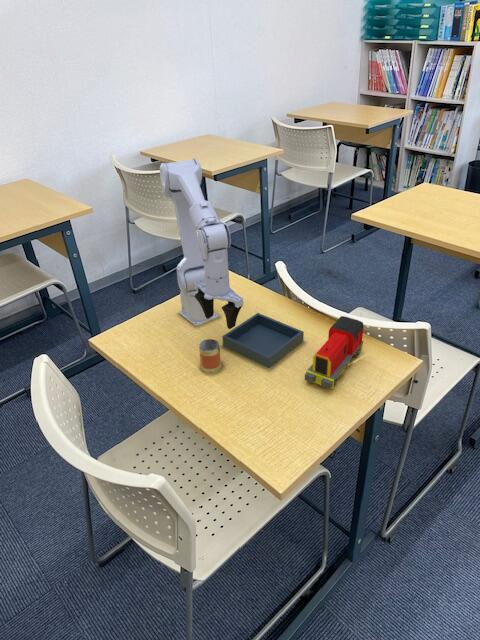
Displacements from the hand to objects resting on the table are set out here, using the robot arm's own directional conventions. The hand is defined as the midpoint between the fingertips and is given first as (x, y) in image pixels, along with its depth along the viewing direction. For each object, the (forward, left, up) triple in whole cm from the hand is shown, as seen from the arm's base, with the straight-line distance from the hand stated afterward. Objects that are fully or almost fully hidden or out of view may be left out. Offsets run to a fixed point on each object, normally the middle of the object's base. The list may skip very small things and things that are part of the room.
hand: (220, 321), depth 121 cm
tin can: (+4, -6, -9) cm, 12 cm away
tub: (+5, +10, -9) cm, 14 cm away
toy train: (+24, +17, -10) cm, 30 cm away
